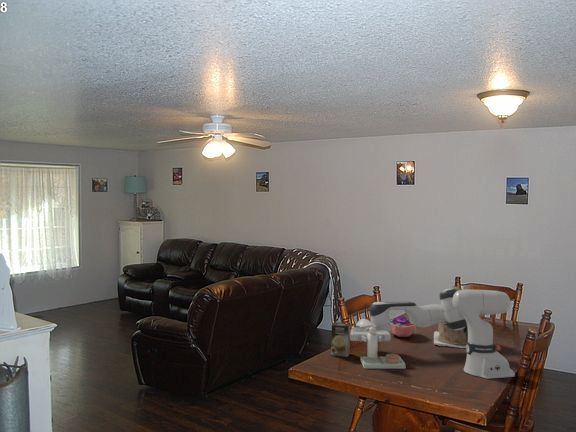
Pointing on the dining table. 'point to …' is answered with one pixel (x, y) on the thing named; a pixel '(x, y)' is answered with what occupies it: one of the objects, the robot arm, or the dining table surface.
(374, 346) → the bottle
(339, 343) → the coffee box
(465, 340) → the cookie jar
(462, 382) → the dining table surface
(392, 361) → the sugar pot
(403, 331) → the cell model
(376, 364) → the tray
